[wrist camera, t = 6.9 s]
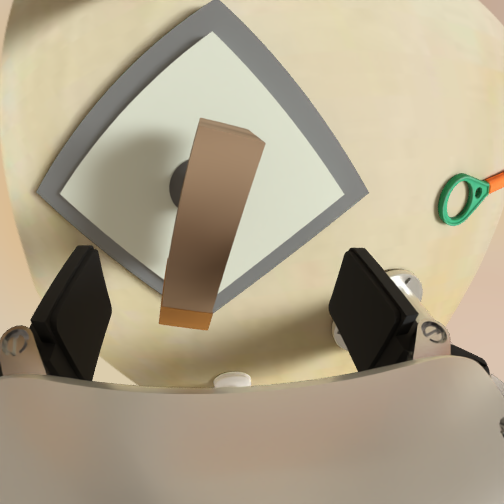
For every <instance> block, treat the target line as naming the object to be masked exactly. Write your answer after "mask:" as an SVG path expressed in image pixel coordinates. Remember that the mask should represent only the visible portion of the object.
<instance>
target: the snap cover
mask: <svg viewBox="0 0 504 504" xmlns="http://www.w3.org/2000/svg"><path fill="white" fill-rule="evenodd" d="M200 118H205V119H209V120H213V121H218V122H222V123H226V124H230V125H234V126H238V127H241V128H245V129H248V130H250V131H251V132H252V133H254V134H255V135H256V136H257V137H259V138H260V139H261V140H263V141H264V142H265V143H266V144H265V147H264V150H263V153H262V156H261V159H260V162H259V165H258V168H257V171H256V174H255V177H254V180H253V183H252V186H251V189H250V192H249V195H248V198H247V201H246V204H245V208H244V211H243V214H242V217H241V220H240V223H239V226H238V229H237V233H236V236H235V239H234V242H233V245H232V248H231V252H230V255H229V258H228V261H227V265H226V268H225V271H224V274H223V277H222V281H221V284H220V287H219V291H218V294H217V297H216V301H215V304H214V307H213V313H214V312H216V311H217V310H218V309H220V308H221V307H222V306H224V305H225V304H226V303H228V302H229V301H230V300H232V299H233V298H234V297H236V296H237V295H238V294H240V293H241V292H243V291H244V290H245V289H247V288H248V287H249V286H251V285H252V284H253V283H254V282H256V281H257V280H258V279H260V278H261V277H262V276H264V275H265V274H266V273H268V272H269V271H270V270H272V269H273V268H274V267H276V266H277V265H278V264H279V263H281V262H282V261H283V260H285V259H286V258H287V257H289V256H290V255H291V254H292V253H294V252H295V251H296V250H298V249H299V248H300V247H302V246H303V245H304V244H305V243H307V242H308V241H309V240H310V239H312V238H313V237H314V236H316V235H317V234H318V233H319V232H321V231H322V230H323V229H324V228H326V227H327V226H328V225H330V224H331V223H332V222H333V221H335V220H336V219H337V218H338V217H340V216H341V215H342V214H343V213H345V212H346V211H347V210H348V209H350V208H351V207H352V206H353V205H355V204H356V203H357V202H358V201H360V200H361V199H362V198H363V197H364V196H366V195H367V194H368V193H369V192H368V190H367V188H366V187H365V185H364V183H363V181H362V180H361V178H360V176H359V174H358V173H357V171H356V169H355V168H354V166H353V164H352V163H351V161H350V159H349V158H348V156H347V154H346V153H345V151H344V150H343V148H342V147H341V145H340V143H339V142H338V140H337V139H336V137H335V136H334V134H333V133H332V131H331V130H330V128H329V127H328V125H327V124H326V122H325V121H324V120H323V118H322V117H321V115H320V114H319V112H318V111H317V110H316V108H315V107H314V106H313V104H312V103H311V101H310V100H309V99H308V97H307V96H306V95H305V93H304V92H303V91H302V90H301V88H300V87H299V86H298V84H297V83H296V82H295V81H294V79H293V78H292V77H291V76H290V74H289V73H288V72H287V71H286V69H285V68H284V67H283V66H282V65H281V64H280V62H279V61H278V60H277V59H276V58H275V57H274V55H273V54H272V53H271V52H270V51H269V50H268V49H267V47H266V46H265V45H264V44H263V43H262V42H261V41H260V40H259V39H258V38H257V37H256V36H255V34H254V33H253V32H252V31H251V30H250V29H249V28H248V27H247V26H246V25H245V24H244V23H243V22H242V21H241V20H240V19H239V18H238V17H237V16H236V15H235V14H234V13H233V12H232V11H231V10H229V9H228V8H227V7H226V6H225V5H224V4H223V3H222V2H221V1H220V0H213V1H211V2H209V3H208V4H206V5H205V6H203V7H202V8H200V9H199V10H198V11H196V12H195V13H193V14H192V15H191V16H189V17H188V18H186V19H185V20H184V21H182V22H181V23H180V24H178V25H177V26H176V27H175V28H173V29H172V30H171V31H170V32H168V33H167V34H166V35H165V36H163V37H162V38H161V39H160V40H159V41H158V42H156V43H155V44H154V45H153V46H152V47H151V48H150V49H148V50H147V51H146V52H145V53H144V54H143V55H142V56H141V57H140V58H139V59H138V60H137V61H135V62H134V63H133V64H132V65H131V66H130V67H129V68H128V69H127V70H126V71H125V72H124V73H123V74H122V75H121V77H120V78H119V79H118V80H117V81H116V82H115V83H114V84H113V85H112V86H111V87H110V88H109V89H108V91H107V92H106V93H105V94H104V95H103V96H102V97H101V99H100V100H99V101H98V102H97V103H96V104H95V106H94V107H93V108H92V109H91V111H90V112H89V113H88V114H87V116H86V117H85V118H84V119H83V121H82V122H81V123H80V125H79V126H78V127H77V129H76V130H75V131H74V133H73V134H72V136H71V137H70V138H69V140H68V141H67V143H66V144H65V146H64V147H63V148H62V150H61V151H60V153H59V155H58V156H57V158H56V159H55V161H54V162H53V164H52V166H51V167H50V169H49V170H48V172H47V174H46V175H45V177H44V179H43V181H42V182H41V184H40V186H39V188H38V190H37V191H36V192H37V193H38V194H39V195H40V196H41V197H42V198H43V199H44V200H45V201H46V202H47V203H48V204H49V205H51V206H52V207H53V208H54V209H55V210H56V211H57V212H58V213H59V214H60V215H62V216H63V217H64V218H65V219H66V220H67V221H68V222H70V223H71V224H72V225H73V226H74V227H75V228H76V229H78V230H79V231H80V232H81V233H82V234H84V235H85V236H86V237H87V238H88V239H89V240H91V241H92V242H93V243H94V244H96V245H97V246H98V247H99V248H101V249H102V250H103V251H104V252H105V253H107V254H108V255H109V256H111V257H112V258H113V259H114V260H116V261H117V262H118V263H120V264H121V265H122V266H123V267H125V268H126V269H127V270H129V271H130V272H131V273H133V274H134V275H135V276H137V277H138V278H139V279H141V280H142V281H143V282H145V283H146V284H148V285H149V286H150V287H152V288H153V289H155V290H156V291H157V292H159V293H160V294H162V292H163V284H164V277H165V270H166V264H167V258H168V257H169V251H170V245H171V240H172V234H173V229H174V224H175V219H176V214H177V209H178V204H179V199H180V194H181V189H182V184H183V181H184V177H185V173H186V169H187V165H188V161H189V157H190V153H191V149H192V145H193V141H194V137H195V134H196V130H197V126H198V123H199V119H200Z"/></svg>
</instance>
